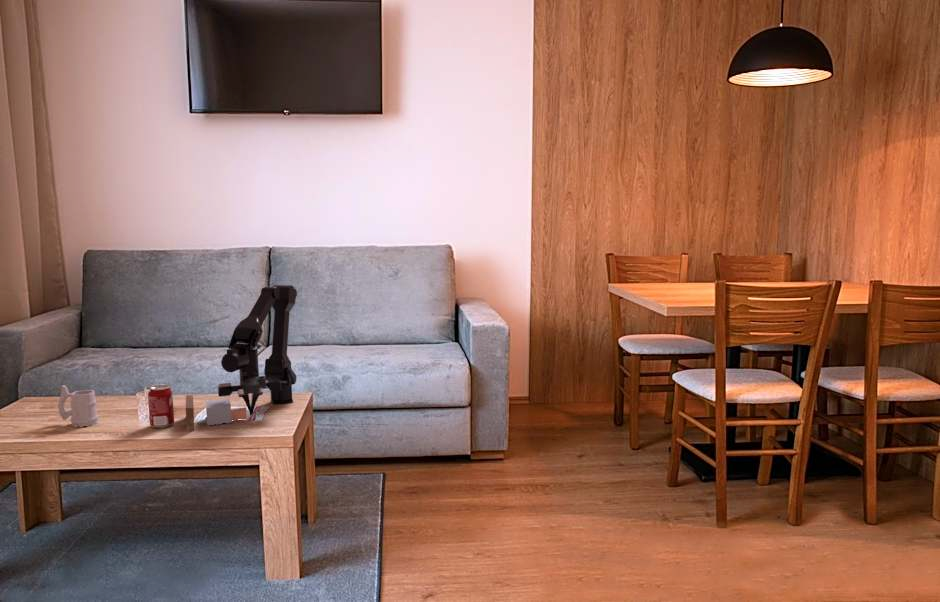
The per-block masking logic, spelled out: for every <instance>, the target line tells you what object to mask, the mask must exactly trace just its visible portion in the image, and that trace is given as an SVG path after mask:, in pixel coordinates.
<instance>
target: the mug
mask: <svg viewBox="0 0 940 602" xmlns="http://www.w3.org/2000/svg"><path fill="white" fill-rule="evenodd" d="M68 398H70V403H69V405H70V408H71V410H68V409H67V408H66V401H67V399H68ZM57 407H58V414H59V416H60V417H61V418H62V420H63V421H67V419H68V418H69V417H70V416H71V417H70V423H71V426H72V425H73V426H74V428H84V427H83V426H87V427H90V426H89V425H92V426H94V425H93V424H95V423H97V422H98V423H99V417H100V415H99V414H98V411H97V399H96V394H95V390H92V389H84V390H76V391H73V392H69V388H68V387H67V386H66V385H64V384H63V385H61V392H60V396H59V401H58V404H57ZM98 423H97V424H98ZM95 425H96V424H95ZM73 426H72V427H73ZM78 426H79V427H78Z"/></svg>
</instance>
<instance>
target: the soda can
mask: <svg viewBox="0 0 940 602" xmlns="http://www.w3.org/2000/svg"><path fill="white" fill-rule="evenodd" d="M170 387H171V386H170V385H169V384H157V385H153V386H151V387H149V391H148V393H147V400H148V413H149V415H148V416H149V426H151V427H152V428H154V429H165V428H169V427H170V426H172V425H173V424H175V412H174V400H173V398H174V397H173V394H174V393H173V391H172V388H170Z"/></svg>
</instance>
